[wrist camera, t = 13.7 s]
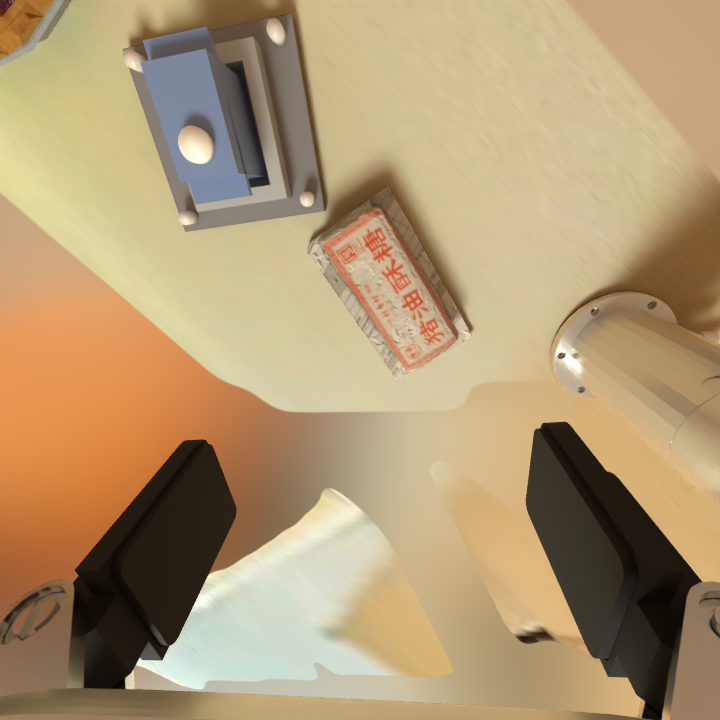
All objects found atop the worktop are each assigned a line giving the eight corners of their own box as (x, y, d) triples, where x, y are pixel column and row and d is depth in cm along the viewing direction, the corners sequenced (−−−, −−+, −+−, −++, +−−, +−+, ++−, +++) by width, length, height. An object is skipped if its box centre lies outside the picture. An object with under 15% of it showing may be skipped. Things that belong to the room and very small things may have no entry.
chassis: (293, 19, 27) (284, 0, 24) (325, 210, 33) (321, 212, 30) (130, 53, 28) (104, 38, 26) (190, 230, 34) (174, 234, 32)
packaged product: (295, 252, 31) (389, 183, 28) (305, 244, 35) (387, 184, 32) (397, 395, 37) (483, 350, 34) (395, 374, 41) (470, 333, 39)
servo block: (239, 57, 27) (191, 11, 20) (271, 194, 32) (240, 195, 25) (186, 68, 28) (121, 26, 21) (225, 202, 32) (182, 205, 25)
